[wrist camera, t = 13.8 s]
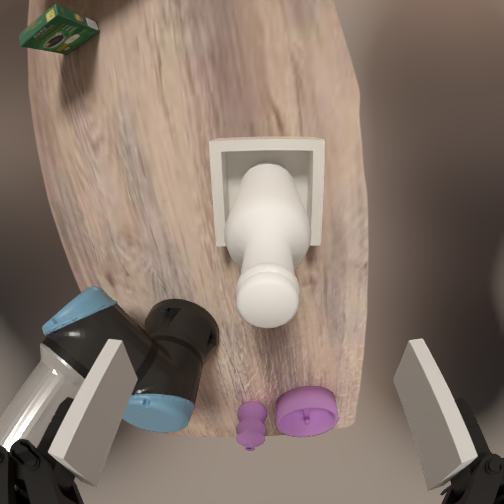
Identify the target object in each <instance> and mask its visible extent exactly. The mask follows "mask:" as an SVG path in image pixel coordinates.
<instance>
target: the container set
mask: <svg viewBox="0 0 504 504" xmlns="http://www.w3.org/2000/svg"><path fill="white" fill-rule="evenodd" d="M237 416H238V419H239V421H240V423H239V424H238V425H237V427H236V432H237V434H238V435H237V437H236V439H237V442H238V443H239V444H241V445H243V446H245V449H246V450H248V451H253V450H254V449H255V447H257V446H260V445H261V444H263V443H264V441H265V437H264V435H265V433H266V427H265V425H264V424H263V422H264V421H265V420H266V417H267V411H266V409H265V407H264V406H263V405H261V404H260V403H258V402H254V401H250V402H246V403H244V404H243V405H241V406H240V407H239V409H238V412H237ZM338 419H339V417H338V412H337V406H336V400H335V396H334V394H333V393H332V392H331V391H330V390H328V389H326V388H323V387H318V386H305V387H299V388H295V389H292V390H290V391H287V392H286V393H284V394H282V395H281V396H280V397H279V398H278V400H277V402H276V427H277V429H278V430H279V431H280V432H281V433H283V434H285V435H288V436H293V437H310V436H315V435H319V434H322V433H324V432H327V431H329V430H330V429H332V428H333V427H334V426H335V425H336V424H337V422H338Z"/></svg>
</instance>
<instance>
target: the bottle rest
mask: <svg viewBox="0 0 504 504" xmlns="http://www.w3.org/2000/svg"><path fill="white" fill-rule="evenodd" d="M209 150H210V167H211V182H212V197H213V210H214V223H215V235H216V246H226V244H225V242H224V227H225V224H226V221H227V219H228V216H229V214H230V211H231V208H232V206H233V203H234V201H235V198H236V196H237V193H238V190H239V188H240V183H241V181H242V178H243V176H244V174H245V173H246V172H247V171H248V170H249V169H250V168H251V167H252V166H254V165H256V164H258V163H261V162H273V163H277V164H279V165H281V166H282V167H284V168H285V169H286V170H287V171H288V172H289V174H290V175H291V176H292V178H293V181H294V184H295V187H296V189H297V192H298V194H299V196H300V199H301V201H302V204H303V206H304V209H305V211H306V214H307V216H308V219H309V223H310V227H311V230H312V233H311V242H310V246H320V244H321V229H322V211H323V189H324V150H325V140H323V139H321V138H318V137H237V138H217V139H214V140H211V141H209Z"/></svg>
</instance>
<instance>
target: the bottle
mask: <svg viewBox="0 0 504 504" xmlns="http://www.w3.org/2000/svg"><path fill="white" fill-rule="evenodd" d="M311 233H312V230H311V227H310V223H309V219H308V216H307V214H306V211H305V209H304V206H303V204H302V201H301V199H300V196H299V194H298V192H297V189H296V187H295V184H294V181H293V178H292V176H291V175H290V174H289V172H288V171H287V170H286V169H285V168H284V167H282V166H281V165H279V164H277V163H273V162H261V163H258V164H256V165H254V166H252V167H251V168H250V169H249V170H248V171H247V172H246V173H245V174H244V176H243V178H242V181H241V183H240V188H239V190H238V193H237V196H236V198H235V201H234V203H233V206H232V208H231V211H230V214H229V216H228V219H227V221H226V224H225V227H224V242H225V244H226V247H227V249H228V252H229V254H230V256H231V259H232V260H233V262H234V263H235V264H236V265H237V266H238V267H239V268H240V269H241V275H240V278H239V280H238V282H237V284H236V299H237V309H238V311H239V314H240V316H241V317H242V318H243V319H244V320H245V321H246V322H248V323H250V324H252V325H254V326H256V327H261V328H275V327H279V326H281V325H284V324H286V323H287V322H288V321H290V320H291V319H292V318H293V317H294V316H295V314H296V312H297V311H298V305H299V295H300V287H299V284H298V281H297V278H296V277H295V272H294V270H295V269H296V268H297V267H298V266H299V265H300V264H301V262H302V261H303V259H304V257H305V255H306V253H307V251H308V249H309V247H310V242H311Z"/></svg>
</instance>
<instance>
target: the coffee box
mask: <svg viewBox="0 0 504 504" xmlns="http://www.w3.org/2000/svg"><path fill="white" fill-rule="evenodd" d="M98 32H100V30H99V28H98V25H97V22H95V21H93V20H91V19H89V18H87V17H84V16H82V15H80V14H78V13H76V12H73V11H71V10H69V9H66V8H64V7H62V6H59V5H57V4H55V5H53V6H52V7H51V8H50V9H48V10H47V11H46V12H45V13H43V14H42V15H41V16H40V17H39V18H38V19H36V20H35V21H34V22H33V23H32V24H31V25H30V26H28V27H27V28H26V29H25V30H24V31H23V32H22V33H21V34H20V35H19V38H20V44H21V47H27V48H33V49H39V50H45V51H51V52H56V53H61V54H66V55H67V54H68V53H69V52H71V51H72V50H74V49H75V48H76V47H78V46H79V45H80V44H82V43H83V42H85V41H86V40H88V39H89V38H91V37H92V36H94V35H95V34H97V33H98Z"/></svg>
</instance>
